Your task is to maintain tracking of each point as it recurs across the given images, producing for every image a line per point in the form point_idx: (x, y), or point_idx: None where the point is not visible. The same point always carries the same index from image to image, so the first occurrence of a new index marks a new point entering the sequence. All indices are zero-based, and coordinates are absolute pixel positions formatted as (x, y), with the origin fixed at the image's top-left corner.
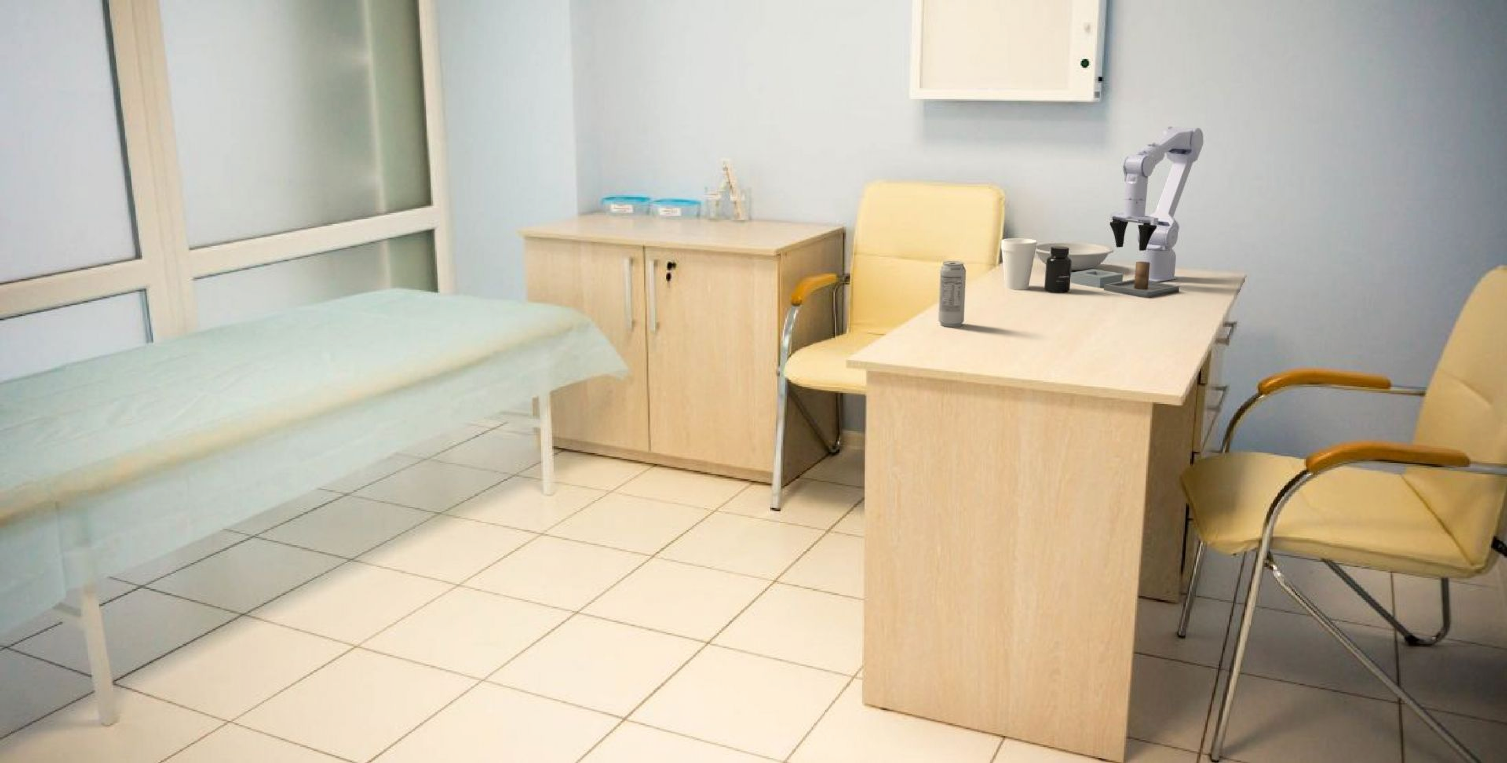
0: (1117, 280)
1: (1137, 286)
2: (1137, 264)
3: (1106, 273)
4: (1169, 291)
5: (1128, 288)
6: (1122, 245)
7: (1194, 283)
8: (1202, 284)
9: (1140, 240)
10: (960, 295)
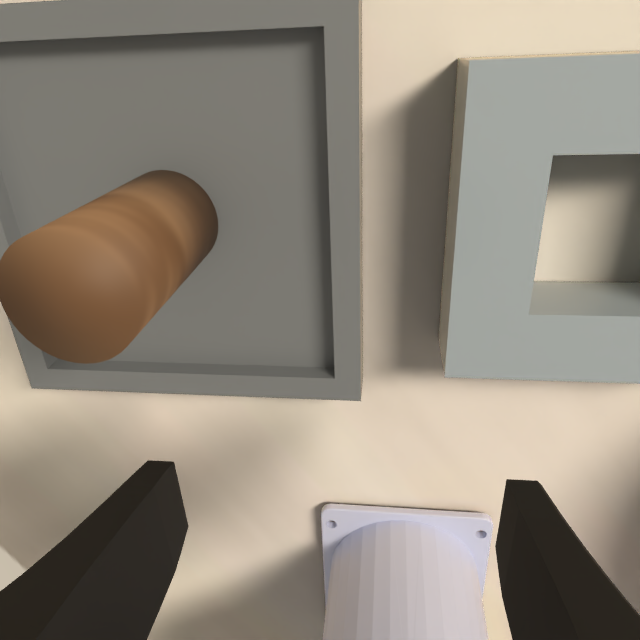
0: (445, 298)
1: (150, 175)
2: (73, 228)
3: (567, 313)
4: None
5: (96, 9)
6: (498, 557)
7: (206, 591)
8: (169, 592)
9: (82, 556)
10: None
